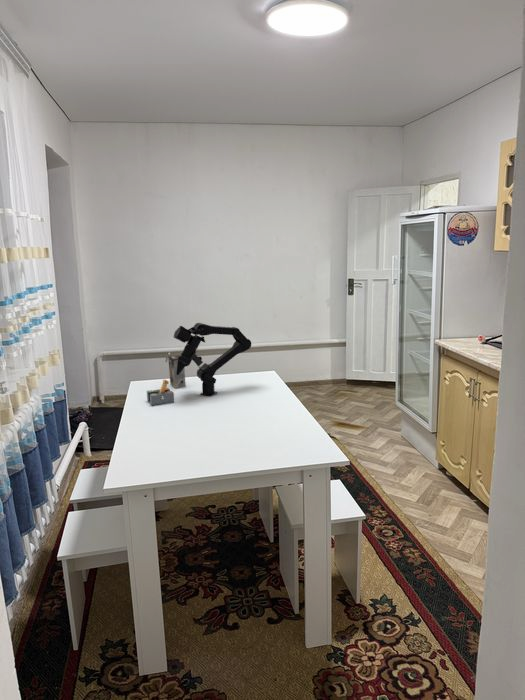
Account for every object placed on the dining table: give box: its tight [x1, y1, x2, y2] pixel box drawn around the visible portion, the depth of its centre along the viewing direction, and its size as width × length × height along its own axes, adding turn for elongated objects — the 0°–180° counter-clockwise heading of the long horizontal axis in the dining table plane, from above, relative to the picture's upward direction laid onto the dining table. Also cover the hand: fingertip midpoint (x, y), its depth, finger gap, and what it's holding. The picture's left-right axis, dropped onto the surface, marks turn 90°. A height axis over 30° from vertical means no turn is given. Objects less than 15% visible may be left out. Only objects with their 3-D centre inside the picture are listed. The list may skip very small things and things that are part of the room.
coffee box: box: [167, 354, 186, 389], centre depth 283 cm, size 9×6×16 cm
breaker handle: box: [159, 379, 170, 393], centre depth 257 cm, size 2×2×8 cm
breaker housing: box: [146, 387, 175, 407], centre depth 257 cm, size 11×10×5 cm
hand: (177, 374), depth 259 cm, fingers closed
